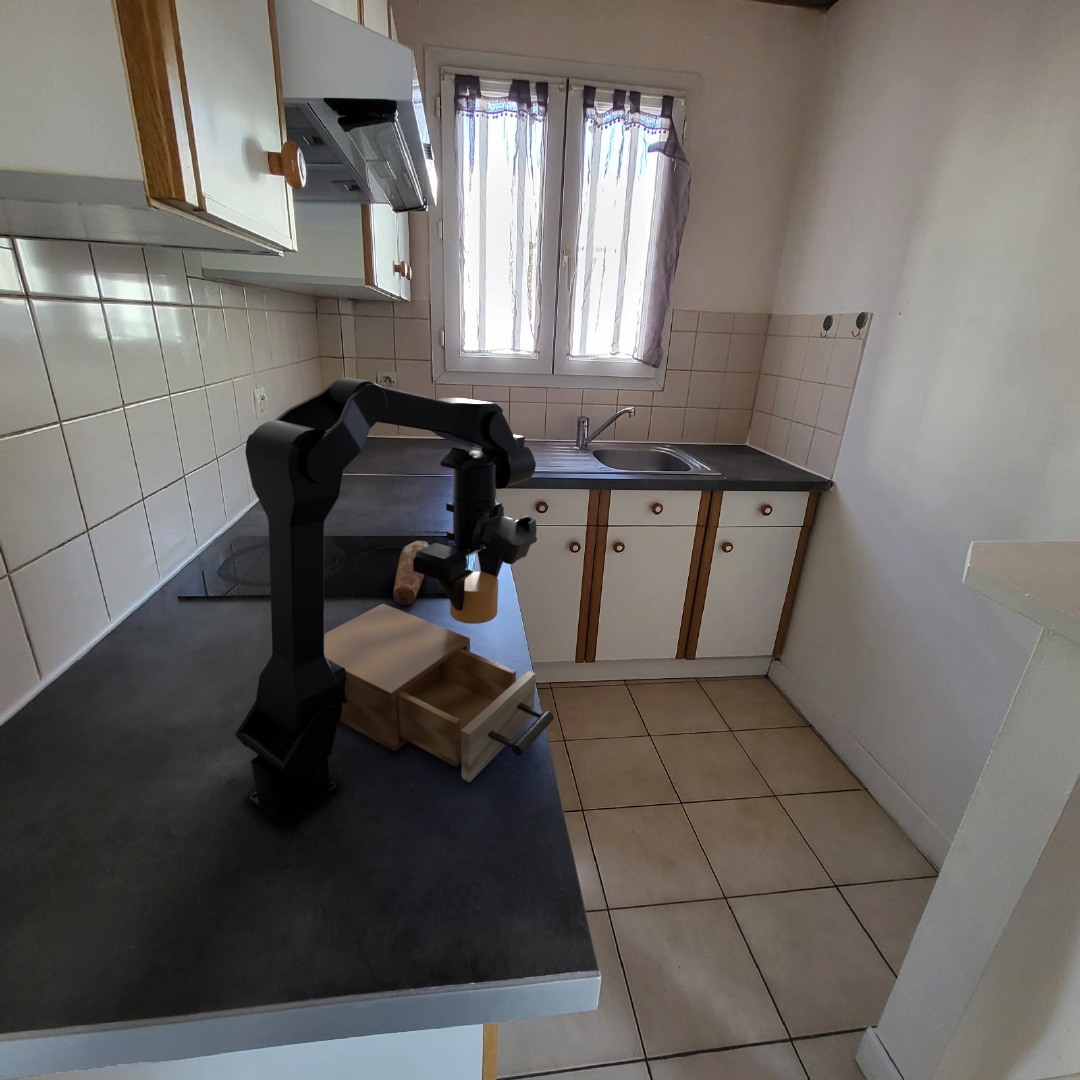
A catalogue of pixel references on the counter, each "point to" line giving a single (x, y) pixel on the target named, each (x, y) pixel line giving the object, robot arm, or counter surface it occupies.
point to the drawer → (470, 711)
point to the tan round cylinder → (478, 599)
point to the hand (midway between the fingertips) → (474, 600)
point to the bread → (408, 575)
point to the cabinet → (385, 665)
